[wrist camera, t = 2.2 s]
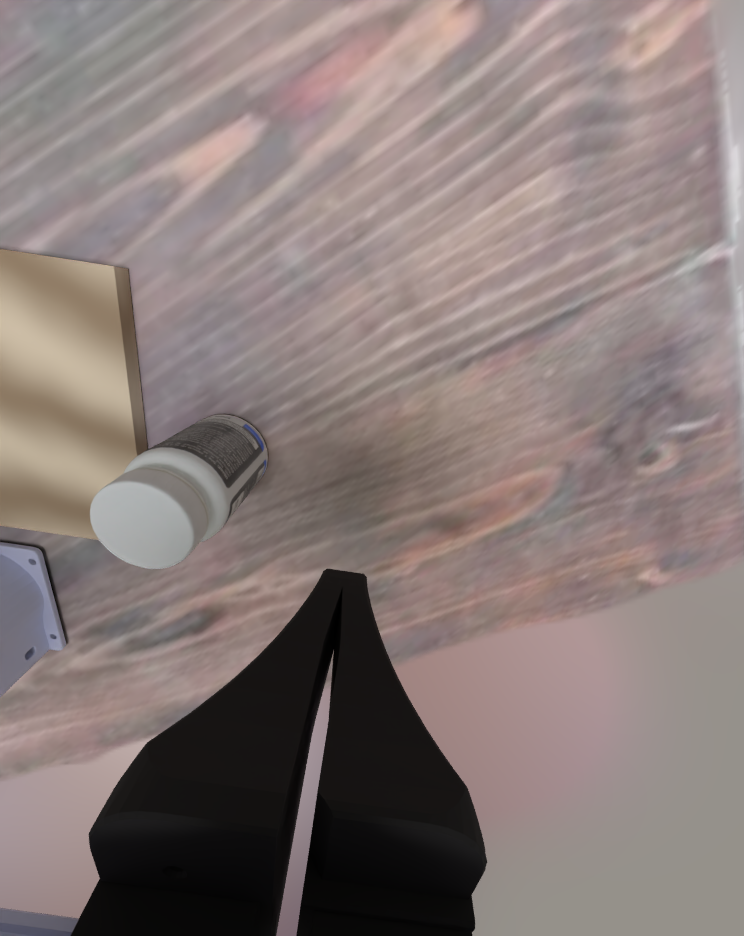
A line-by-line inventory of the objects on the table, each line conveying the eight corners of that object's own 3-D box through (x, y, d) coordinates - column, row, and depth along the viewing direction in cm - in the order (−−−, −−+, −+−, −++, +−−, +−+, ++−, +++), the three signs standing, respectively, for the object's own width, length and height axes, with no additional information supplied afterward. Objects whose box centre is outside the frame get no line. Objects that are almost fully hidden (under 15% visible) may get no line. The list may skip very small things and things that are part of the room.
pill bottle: (180, 417, 21) (55, 476, 13) (259, 408, 20) (178, 464, 13) (204, 491, 23) (107, 581, 15) (277, 484, 22) (216, 574, 14)
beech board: (157, 538, 24) (147, 548, 23) (-23, 512, 24) (-41, 520, 23) (128, 269, 18) (112, 266, 17) (-115, 231, 18) (-146, 226, 17)
